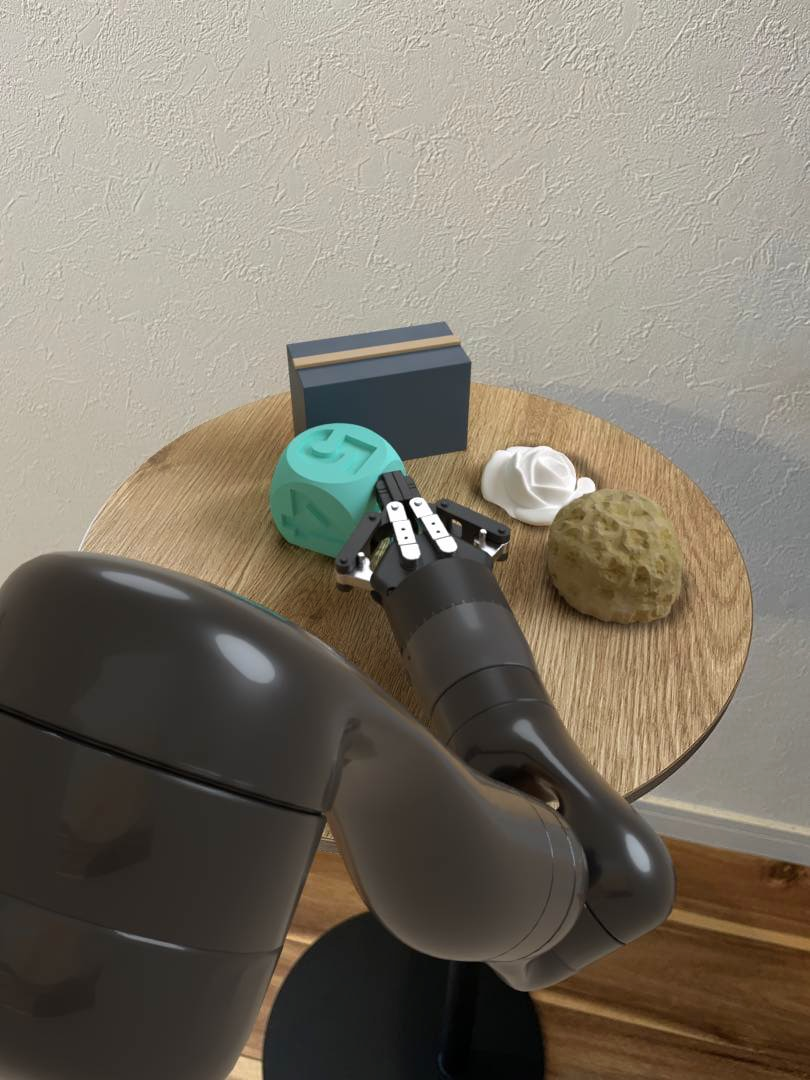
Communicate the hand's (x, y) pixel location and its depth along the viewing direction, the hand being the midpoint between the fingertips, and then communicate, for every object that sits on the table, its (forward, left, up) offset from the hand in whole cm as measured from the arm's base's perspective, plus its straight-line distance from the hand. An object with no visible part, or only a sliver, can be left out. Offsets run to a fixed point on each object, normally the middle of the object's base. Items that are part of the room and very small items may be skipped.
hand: (390, 480), depth 72 cm
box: (+3, +13, -7) cm, 15 cm away
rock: (+15, -9, -7) cm, 19 cm away
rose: (+14, +3, -7) cm, 16 cm away
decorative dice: (-3, +3, -7) cm, 8 cm away
